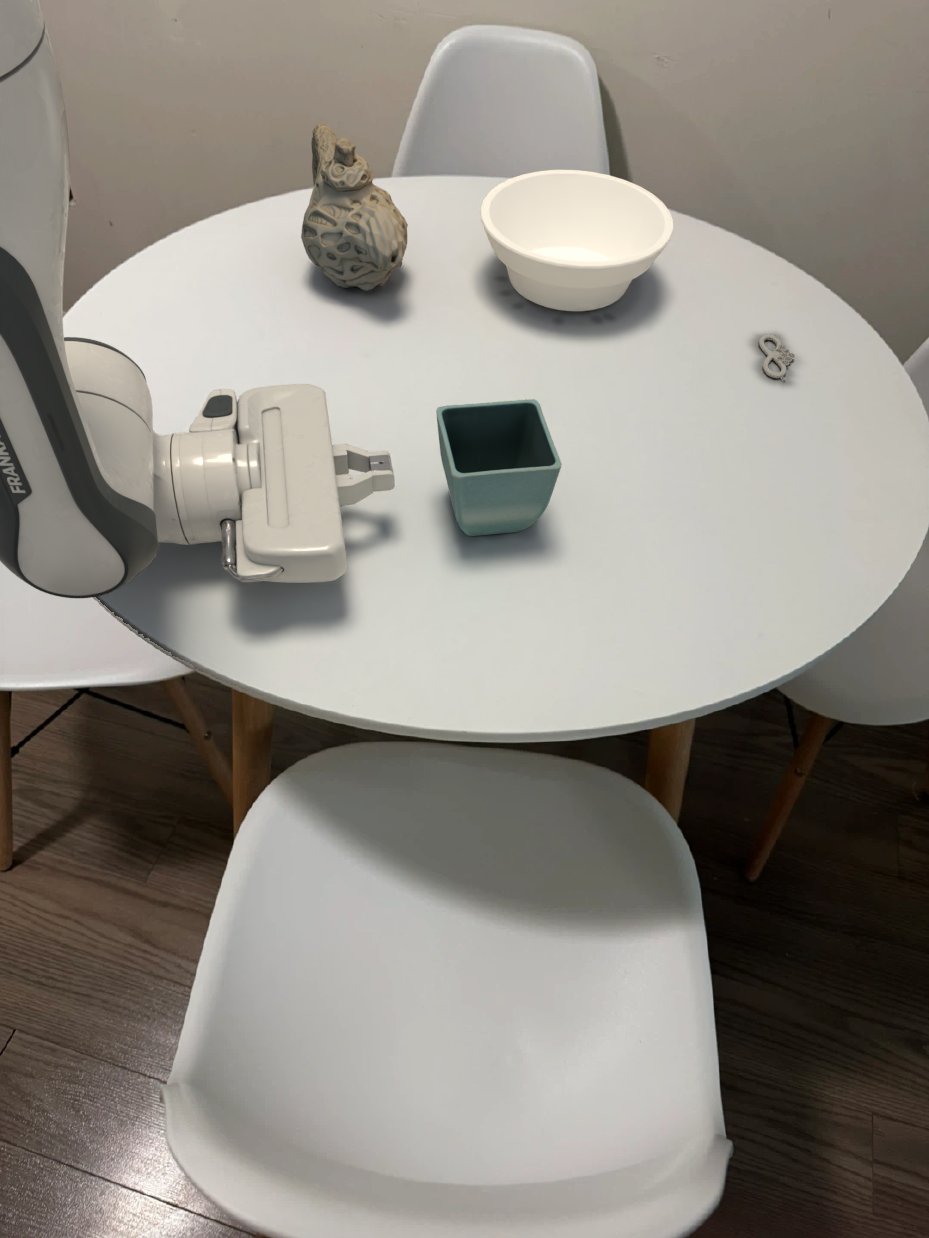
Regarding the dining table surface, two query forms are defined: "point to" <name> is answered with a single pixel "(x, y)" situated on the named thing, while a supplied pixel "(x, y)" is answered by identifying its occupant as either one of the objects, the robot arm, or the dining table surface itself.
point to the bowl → (574, 235)
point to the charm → (775, 356)
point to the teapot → (350, 217)
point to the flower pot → (497, 464)
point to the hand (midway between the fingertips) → (392, 470)
